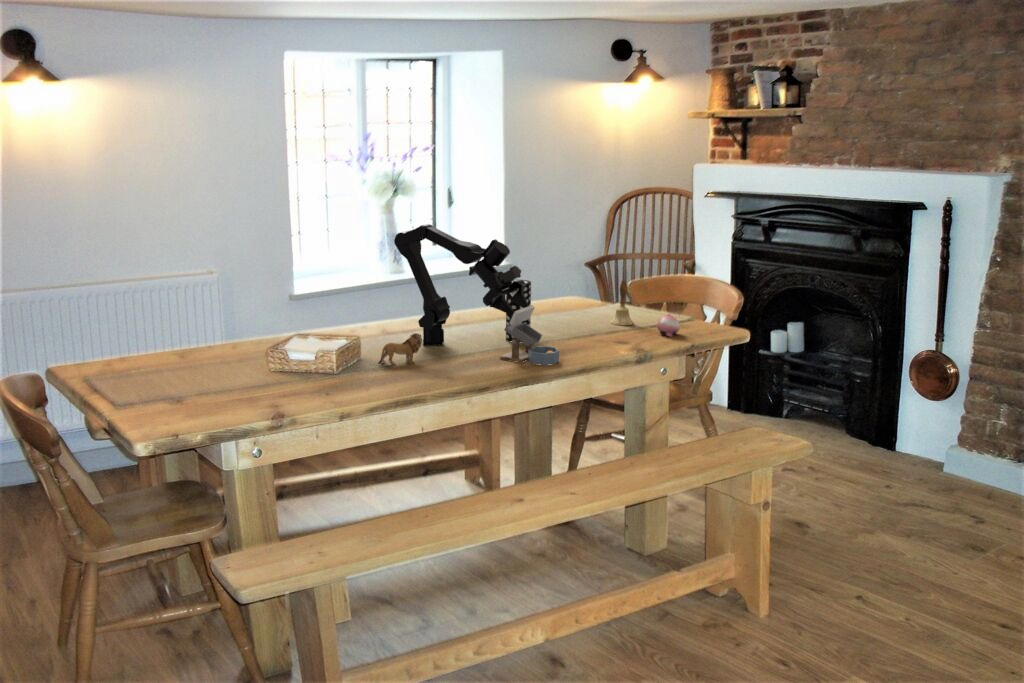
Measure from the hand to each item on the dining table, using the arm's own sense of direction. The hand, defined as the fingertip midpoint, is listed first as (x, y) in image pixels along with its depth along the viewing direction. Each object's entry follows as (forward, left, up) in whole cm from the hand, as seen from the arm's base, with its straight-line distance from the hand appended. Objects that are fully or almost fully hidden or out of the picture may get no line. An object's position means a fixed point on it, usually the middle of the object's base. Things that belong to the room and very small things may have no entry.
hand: (521, 312), depth 342 cm
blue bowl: (+7, -5, -15) cm, 17 cm away
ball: (+9, -6, -13) cm, 17 cm away
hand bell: (+41, +47, -15) cm, 64 cm away
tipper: (0, 0, -8) cm, 8 cm away
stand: (-1, 0, -15) cm, 15 cm away
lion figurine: (-38, -4, -15) cm, 41 cm away
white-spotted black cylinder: (+1, +24, -15) cm, 28 cm away
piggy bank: (+54, +29, -15) cm, 63 cm away
